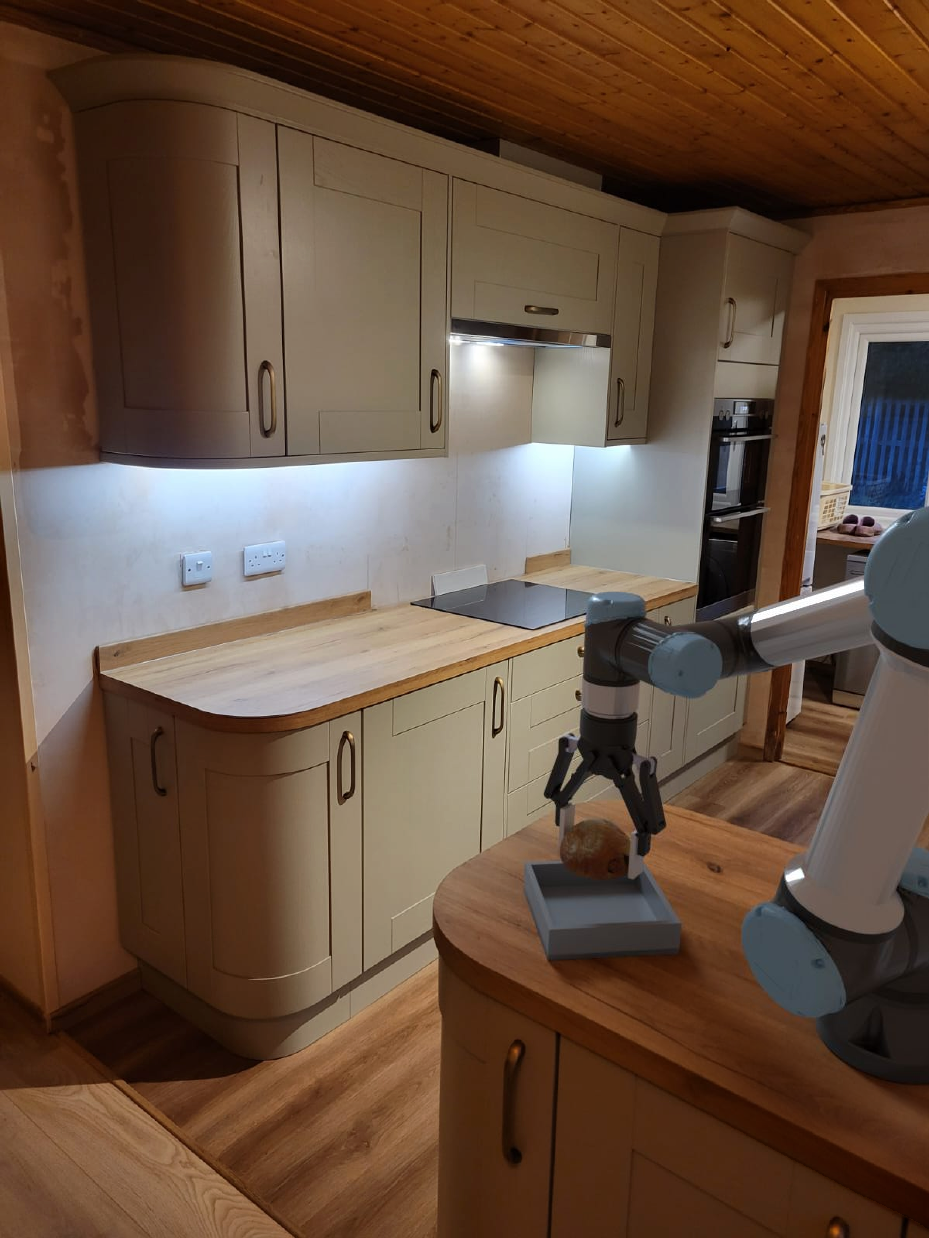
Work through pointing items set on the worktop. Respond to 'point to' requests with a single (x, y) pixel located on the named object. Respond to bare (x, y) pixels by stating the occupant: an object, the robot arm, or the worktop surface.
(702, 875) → the worktop surface
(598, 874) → the bread roll
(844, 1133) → the worktop surface
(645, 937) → the bread tray
